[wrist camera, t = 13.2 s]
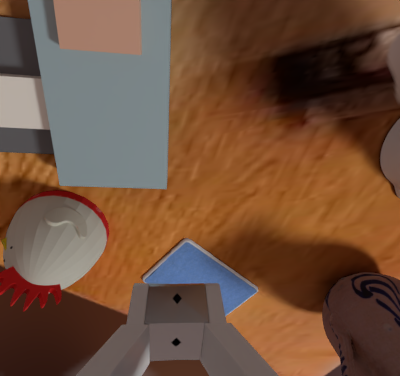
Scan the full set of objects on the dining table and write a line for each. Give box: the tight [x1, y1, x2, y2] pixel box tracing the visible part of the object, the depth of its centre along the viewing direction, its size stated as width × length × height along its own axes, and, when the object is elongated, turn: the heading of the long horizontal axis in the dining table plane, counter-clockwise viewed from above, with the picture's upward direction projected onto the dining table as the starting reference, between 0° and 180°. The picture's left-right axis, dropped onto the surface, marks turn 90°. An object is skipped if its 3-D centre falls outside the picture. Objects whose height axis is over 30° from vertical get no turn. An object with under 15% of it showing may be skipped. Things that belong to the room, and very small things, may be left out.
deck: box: [28, 0, 172, 189], centre depth 34 cm, size 14×22×4 cm, turn 176°
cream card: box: [0, 73, 50, 130], centre depth 34 cm, size 9×6×2 cm, turn 86°
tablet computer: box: [143, 238, 258, 316], centre depth 53 cm, size 19×13×1 cm, turn 47°
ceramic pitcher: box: [322, 272, 400, 376], centre depth 46 cm, size 18×21×25 cm
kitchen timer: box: [0, 190, 109, 311], centre depth 38 cm, size 14×14×15 cm
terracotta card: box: [53, 0, 142, 55], centre depth 28 cm, size 8×5×2 cm, turn 86°
